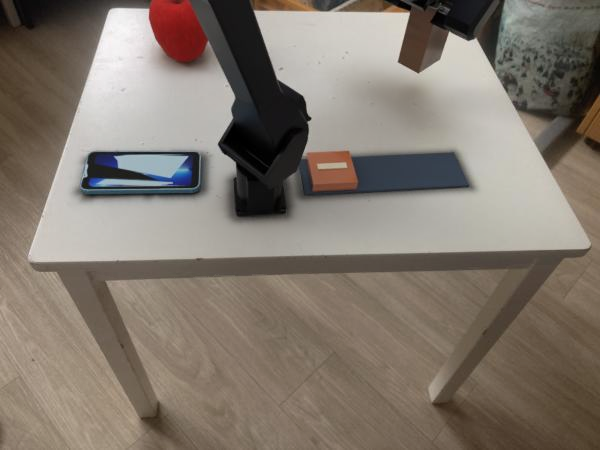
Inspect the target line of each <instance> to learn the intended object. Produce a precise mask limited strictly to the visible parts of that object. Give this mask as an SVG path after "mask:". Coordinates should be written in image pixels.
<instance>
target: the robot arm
mask: <svg viewBox="0 0 600 450" xmlns="http://www.w3.org/2000/svg"><path fill="white" fill-rule="evenodd" d="M383 1H384V2H386V3H388V4H390V5H392V6H394V7H395V8H399V9H402V10H405V11H408V12H410V11H411V7H412V6H413V7H415V8H418V9H420V10H422V11H424V12H425V10H426V9H427V7H428V6H429V7H431V8H433V9H435V10H437V12H436V13H435V15H434V16H433V18H432V20H431V21H430V23H431V24H433V25H435V26H437V27H439V28H441V29H443V30H445V31H449V33H451V34H453V35H454V36H456V37H459V38H461V39H462V40H464V41H466V42H470V41H473V40H476V38H477V37H478V35H479V34H480V32H481V31H482V29H483V28H484V27H485V25H486V24H487V22H488V20H489V19H490V17H491V16H492V15H493V13H494V12H495V10H496V9H497V7H498V5H499V4H500V0H383ZM437 1H438V2H437ZM189 2H190V4H191V6H192V8H193V10H194V12H195V14H196V16H197V18H198V20H199V22H200V25H201V27H202V29H203V31H204V33H205V35H206V37H207V39H208V44H209V45H210V47H211V50H212V51H213V54H214V56H215V58H216V60H217V62H218V64H219V66H220V68H221V69H222V72H223V75H224V77H225V79H226V81H227V82H228V85H229V86H230V89H231V90H232V91H231V92H232V93H233V95H234V100H233V102H232V105H231V107H230V112H231V116H232V119H231V121H230V122H229V124H228V125H227V127H226V129H225V131H224V132H223V134H222V135H221V137H220V139H219V141H217V146H218V149H220V152H221V153H222V154H223V155H224V156H227V157H228V158H229V159H230V160H232V161H233V162H234V163H235V172H236V173H235V175H236V176H235V177H233V180H232V181H233V196H234V212H235V216H238V217H247V216H248V217H249V216H263V215H264V216H265V215H280V214H283V215H284V214H285V213H287V210H288V208H287V201H286V194H285V188H284V181H286V180H287V179H288V178H289V177H290V178H291V176H292V175H295V174H296V173H297V171H298V168H300V166H299V164H300V161H301V159H303V155H304V152H305V150H306V148H307V145H308V141H309V135H310V125H309V122H310V121H312V119H313V117H312V116H310V114H309V113H308V111H307V110H308V109H307V101H306V99H305V97H304V95H303V94H301V93H300V92H298V91H296V90H295V89H293V88H292V87H291V86H289V85H287V84H286V83H284V82H283V81H281V80H280V79H278V77H277V74H276V71H275V67H274V65H273V63H272V62H273V61H272V60H271V56H270V53H269V51H268V47H267V45H266V42H265V39H264V36H263V33H262V30H261V28H260V25H259V22H258V18H257V16H256V13H255V9H254V7H253V4H252V0H189Z"/></svg>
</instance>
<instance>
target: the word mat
mask: <svg viewBox="0 0 600 450" xmlns="http://www.w3.org/2000/svg"><path fill="white" fill-rule="evenodd" d="M351 159H352V162H353V166H354V169H355V173H356V176H357V180H358V184H357V188H356V189H354V190H335V191H317V192H312V187H311V182H310V177H309V172H308V167H307V162H306V158H301V161H300V164H299V171H300V176H301V182H302V187H303V193H304V196H305V197H310V196H327V195H344V194H345V195H347V194H363V193H366V194H367V193H381V192H382V193H384V192H401V191H418V190H434V189H435V190H437V189H453V188H455V189H456V188H469V186H470V183H469V181H468V179H467V177H466V174H465V172H464V171H463V169H462V166H461V164H460V162H459V159H458V158H457V155H456V154H455V152H454V151H453V152H452V151H451V152H432V153H431V152H429V153H407V154H386V155H385V154H384V155H383V154H382V155H365V156H351Z"/></svg>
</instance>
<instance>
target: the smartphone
mask: <svg viewBox="0 0 600 450" xmlns="http://www.w3.org/2000/svg"><path fill="white" fill-rule="evenodd" d="M202 160H203V159H202V154H201V152H199V151H197V150H92V151H90V152H89V153H88V154H87V155H86V158H85V161H84V166H83V169H82V174H81V178H80V181H79V188H80V192H81V193H83V194H85V195H113V194H114V195H115V194H118V195H119V194H120V195H122V194H125V195H126V194H127V195H129V194H130V195H131V194H194V193H197V192H199V191H200V190H201V182H202V181H201V180H202V162H203V161H202Z"/></svg>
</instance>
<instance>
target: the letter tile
mask: <svg viewBox="0 0 600 450" xmlns="http://www.w3.org/2000/svg"><path fill="white" fill-rule="evenodd" d="M351 157H352V156H351V152H350V150H337V151H335V150H334V151H332V150H331V151H314V152H313V151H312V152H306V158H305V159H306V162H307V167H308V172H309V177H310V182H311V187H312V192H317V191H335V190H354V189H356V188H357V184H358V180H357V176H356V173H355V169H354V166H353V162H352V159H351Z"/></svg>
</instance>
